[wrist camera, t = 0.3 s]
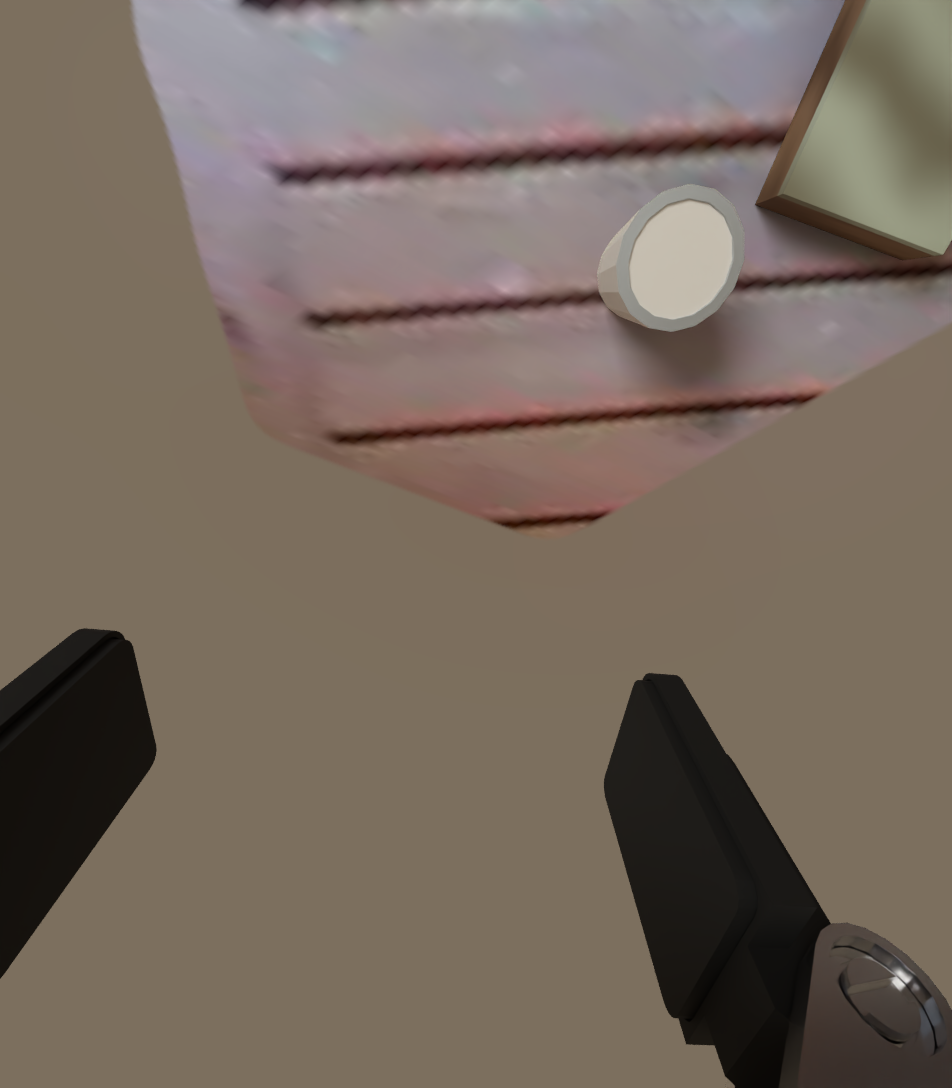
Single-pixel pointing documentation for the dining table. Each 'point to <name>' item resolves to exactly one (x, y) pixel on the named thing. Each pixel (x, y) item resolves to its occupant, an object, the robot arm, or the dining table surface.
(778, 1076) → the robot arm
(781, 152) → the plinth
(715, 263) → the beige cylinder
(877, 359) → the dining table surface
